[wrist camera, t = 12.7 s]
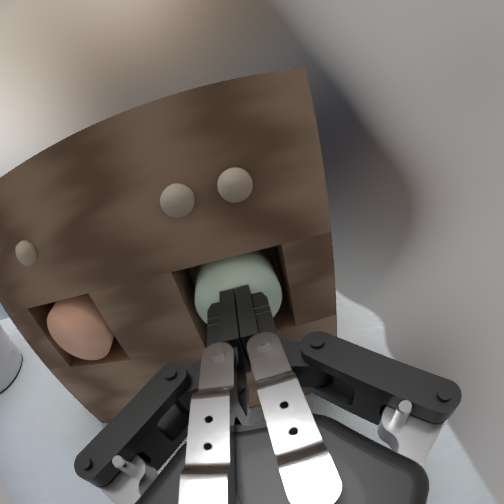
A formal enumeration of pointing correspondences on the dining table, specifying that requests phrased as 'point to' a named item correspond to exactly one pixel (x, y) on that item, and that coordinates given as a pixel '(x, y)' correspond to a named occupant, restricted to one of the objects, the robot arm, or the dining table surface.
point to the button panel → (168, 227)
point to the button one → (80, 328)
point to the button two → (237, 280)
